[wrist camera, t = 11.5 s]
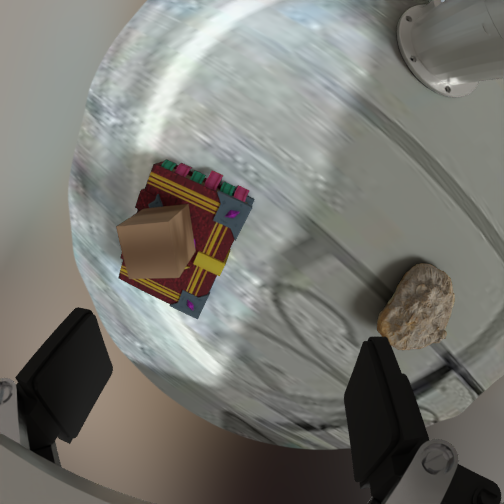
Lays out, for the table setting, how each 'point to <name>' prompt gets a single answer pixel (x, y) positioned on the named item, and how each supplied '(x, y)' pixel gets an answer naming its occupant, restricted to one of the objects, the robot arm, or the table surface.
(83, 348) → the robot arm
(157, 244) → the walnut block
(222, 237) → the decorative book
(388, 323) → the fossil
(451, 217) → the table surface
